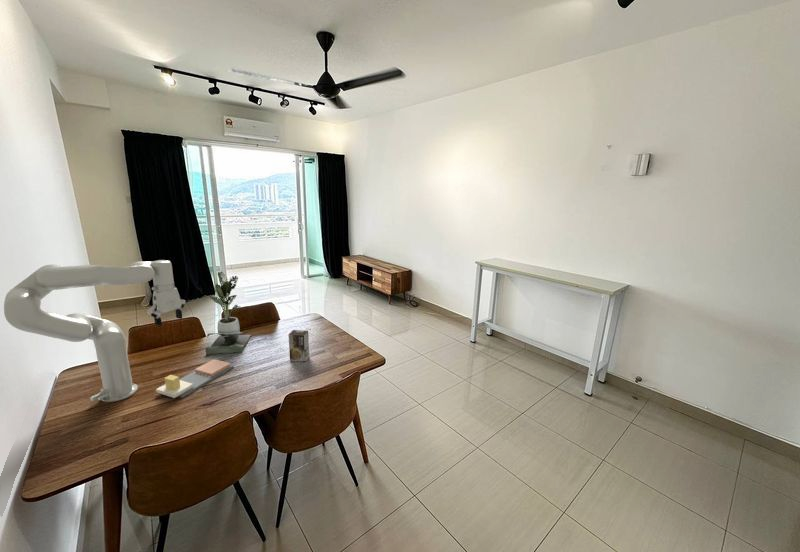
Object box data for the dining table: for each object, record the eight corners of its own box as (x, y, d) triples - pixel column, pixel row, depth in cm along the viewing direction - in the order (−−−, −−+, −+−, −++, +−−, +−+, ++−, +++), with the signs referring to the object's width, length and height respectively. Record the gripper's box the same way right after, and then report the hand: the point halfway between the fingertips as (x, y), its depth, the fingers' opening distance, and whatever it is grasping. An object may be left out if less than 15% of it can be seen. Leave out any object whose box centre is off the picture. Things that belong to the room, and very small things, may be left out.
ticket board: (182, 397, 139) (181, 392, 138) (161, 391, 143) (160, 385, 142) (233, 367, 165) (233, 362, 164) (214, 362, 169) (214, 357, 168)
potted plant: (242, 352, 181) (236, 276, 170) (206, 354, 177) (197, 277, 166) (251, 336, 202) (246, 268, 191) (218, 337, 198) (211, 268, 187)
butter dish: (174, 398, 137) (172, 384, 135) (156, 392, 140) (154, 379, 138) (193, 386, 145) (191, 374, 143) (176, 381, 148) (174, 369, 147)
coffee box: (309, 357, 179) (308, 330, 175) (305, 362, 173) (304, 335, 169) (294, 355, 180) (293, 329, 176) (289, 361, 174) (288, 334, 170)
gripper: (150, 293, 136) (156, 329, 140) (188, 283, 152) (192, 316, 156) (138, 290, 138) (144, 326, 143) (176, 281, 154) (181, 314, 158)
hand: (169, 321), depth 149 cm, fingers open, 9 cm apart
